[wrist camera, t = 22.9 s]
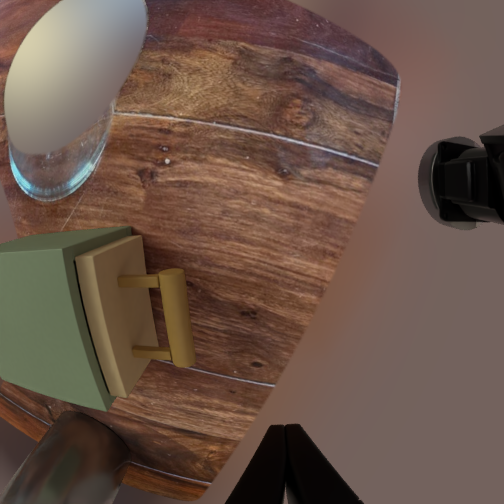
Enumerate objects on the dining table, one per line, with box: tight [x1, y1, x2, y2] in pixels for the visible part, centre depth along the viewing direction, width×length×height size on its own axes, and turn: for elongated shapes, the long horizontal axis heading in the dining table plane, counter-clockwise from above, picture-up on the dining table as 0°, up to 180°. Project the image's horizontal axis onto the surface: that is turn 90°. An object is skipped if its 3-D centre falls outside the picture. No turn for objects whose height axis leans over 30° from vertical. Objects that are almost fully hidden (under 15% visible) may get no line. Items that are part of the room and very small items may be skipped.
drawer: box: [73, 235, 196, 398], centre depth 16 cm, size 13×8×6 cm, turn 93°
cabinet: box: [0, 226, 132, 411], centre depth 17 cm, size 11×10×8 cm
